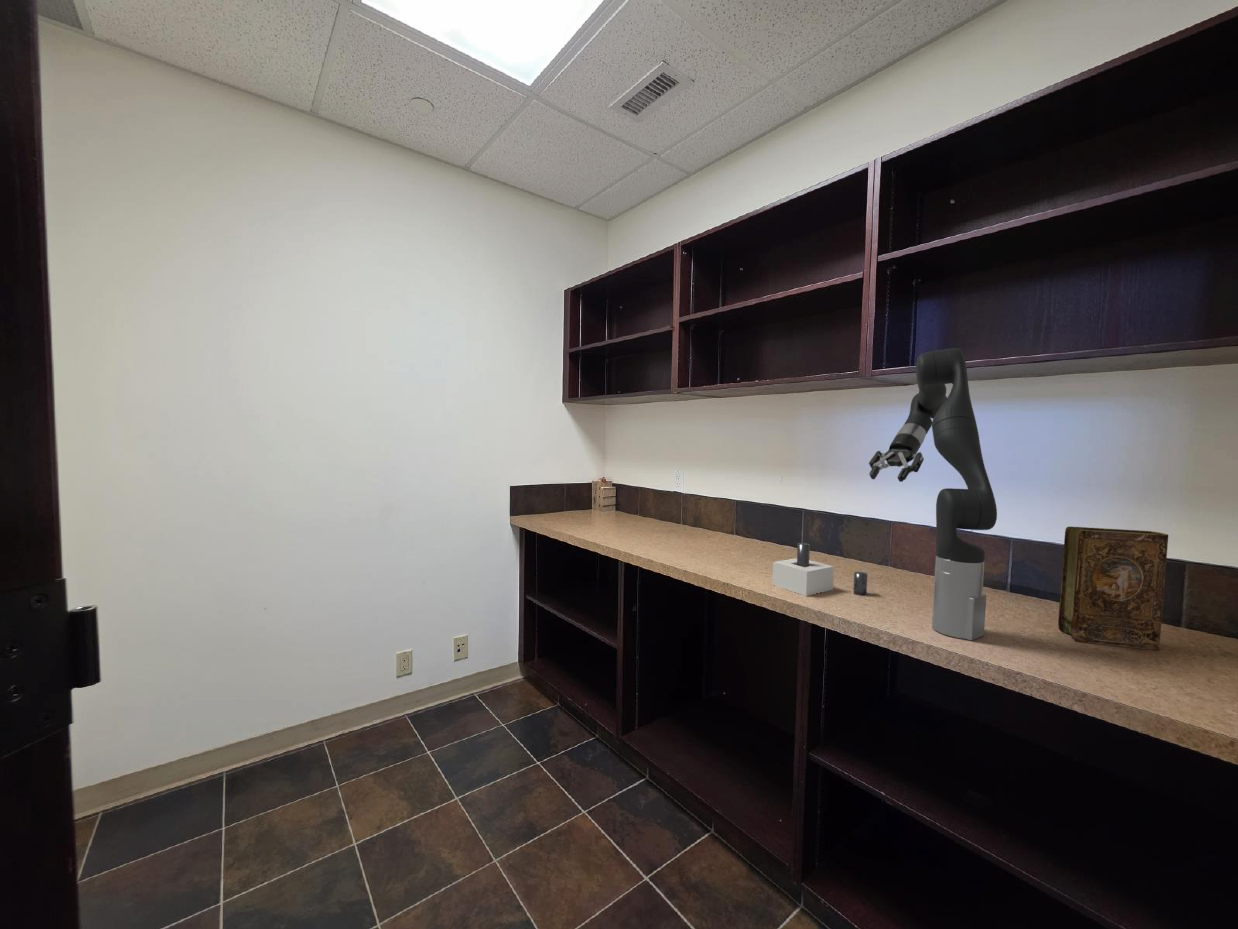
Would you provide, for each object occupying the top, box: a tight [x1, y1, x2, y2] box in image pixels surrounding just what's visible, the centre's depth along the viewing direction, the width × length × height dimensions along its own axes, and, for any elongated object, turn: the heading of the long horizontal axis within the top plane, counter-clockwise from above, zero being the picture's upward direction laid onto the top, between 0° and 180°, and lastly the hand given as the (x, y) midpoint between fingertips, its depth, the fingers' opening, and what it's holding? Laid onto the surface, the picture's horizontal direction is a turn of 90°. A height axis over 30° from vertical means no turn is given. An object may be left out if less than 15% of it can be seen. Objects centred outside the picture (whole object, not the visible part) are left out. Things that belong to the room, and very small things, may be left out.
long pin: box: [796, 542, 811, 567], centre depth 147 cm, size 3×3×13 cm
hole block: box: [771, 557, 835, 597], centre depth 147 cm, size 12×12×7 cm
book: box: [1057, 526, 1169, 651], centre depth 110 cm, size 16×6×25 cm, turn 73°
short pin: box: [852, 571, 869, 597], centre depth 142 cm, size 3×3×6 cm
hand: (885, 478), depth 149 cm, fingers open, 8 cm apart
